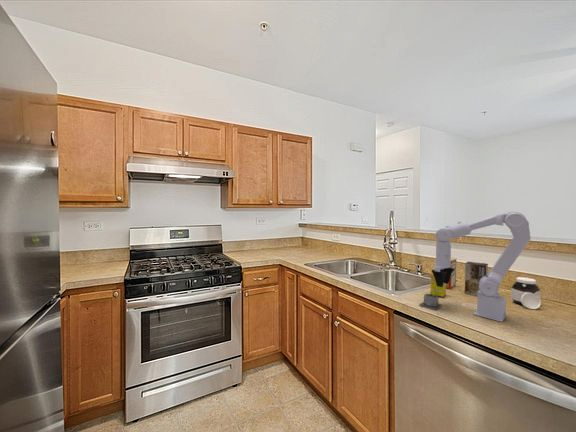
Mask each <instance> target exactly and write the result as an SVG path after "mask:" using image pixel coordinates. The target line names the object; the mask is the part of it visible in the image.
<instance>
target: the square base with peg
mask: <svg viewBox="0 0 576 432" xmlns="http://www.w3.org/2000/svg"><path fill="white" fill-rule="evenodd" d="M428 297H432V296H428ZM418 306H419V307H421V308H425V309H428V310H432V311H438V310H439V309H441V308H442V307H443V305H442V304H440V303H438V306H437V307H430V306H427V305H425V304H424V301H422V302H421V303H419V305H418Z"/></svg>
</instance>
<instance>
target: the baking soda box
mask: <svg viewBox="0 0 576 432" xmlns="http://www.w3.org/2000/svg"><path fill="white" fill-rule="evenodd" d="M451 268H454V270H453V272H452V274H451V276H450V280H449V283H448V284H446V290H450V291H451V290H452V289H454V288H455V287H456V286H457V285H456V284H457V282H456V281H457V258H453V257H451Z"/></svg>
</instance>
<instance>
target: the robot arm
mask: <svg viewBox="0 0 576 432" xmlns="http://www.w3.org/2000/svg"><path fill="white" fill-rule="evenodd" d="M493 225H495V226H504V225H506V226H507V228H508V229H510V232H511V235H512V237H513V238H512V239H511V240H510V242H509V243H508V244H507V246H506V247H505V248H504V250H503V251H502V253H501V254H500V256H499V257H498V259H497V260H496V262H495V263H494V265H493V266H492V268H491V269H490V270H488V274H487V275H486V276H484V277H482V278H481V279H480V281H479V283H480V284H479V291H478V296H476V297H477V299H476V300H477V301H476V302H477V303H476V310H475V312H473V315H475V316H478V317H482V318H485V319H489V320H494V321H496V322H497V321H498V322H501V323H502V322H503V321H504V320H505V319H506V317H507V298H506V297H503V296H500V293H499V291H500V290H499V286H500V285H501V283H502V280H503V278H504V277H505V276H506V275H507V273H508V271H509V270H510V269H511V267H512V266H513V264H514V263H515V262H516V260H517V259H518V257H519V256H520V255H521V253H522V252H523V250H524V249H525V248H526V247H527V245H528V243H530V240H531V232H530V223H529V221H528V219H527V218H526V216H525V215H524V214H523V213H522V212H517V211H510V212H507V213H506V212H505V213H499V214H494V215H490V216H488V217H485V218H482V219H479V220H476V221H472V222H469V223H468V222H465V221H457V223H455V224H452V225H446V226H445V227H442V228H440V229H438V230H437V231H436V232H435V238H436V240H435V241H436V245H435V262H433V263H432V266H434V269H432V270H431V274H432V273H433V275H434V277H435V281H436V285H437V286H438V287H443V283H446V284H448V283H449V280H450V276H451V274H452V272H453V270H454V268H451V258H452V251H451V250H452V249H451V248H452V245H451V239H458V238H461V237H465V236H469V235H470V234H471V233H472V231H475V230H478V229H482V228H487V227H490V226H493Z"/></svg>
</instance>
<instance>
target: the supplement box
mask: <svg viewBox="0 0 576 432" xmlns="http://www.w3.org/2000/svg"><path fill="white" fill-rule="evenodd" d="M446 290H447V289H446V283H443V287H438V286H437V285H436V281H435V277H434V275H433V273H432V272H431V274H430V294H433V295H437V296H438V297H439V298H441V299H444V298H445V296H447V295H446V292H447V291H446Z"/></svg>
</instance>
